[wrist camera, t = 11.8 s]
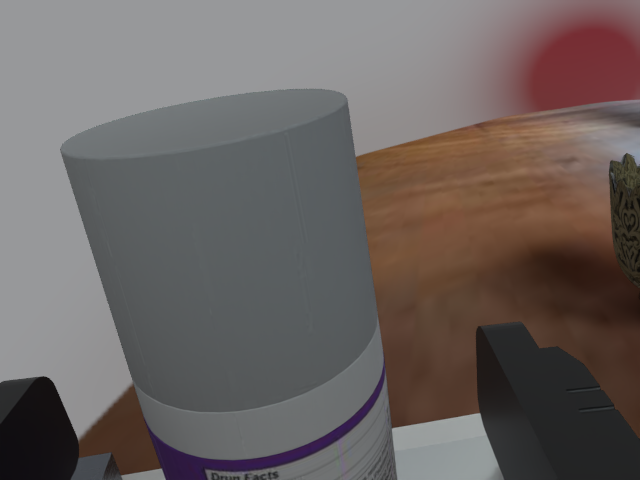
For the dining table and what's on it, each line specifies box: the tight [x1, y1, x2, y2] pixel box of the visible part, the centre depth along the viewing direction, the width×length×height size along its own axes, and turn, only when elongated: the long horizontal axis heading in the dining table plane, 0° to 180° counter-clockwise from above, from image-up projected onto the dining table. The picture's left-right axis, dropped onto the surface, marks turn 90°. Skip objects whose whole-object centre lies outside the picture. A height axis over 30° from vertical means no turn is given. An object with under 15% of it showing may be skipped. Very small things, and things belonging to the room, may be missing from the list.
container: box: [60, 89, 397, 480], centre depth 11 cm, size 5×5×15 cm
